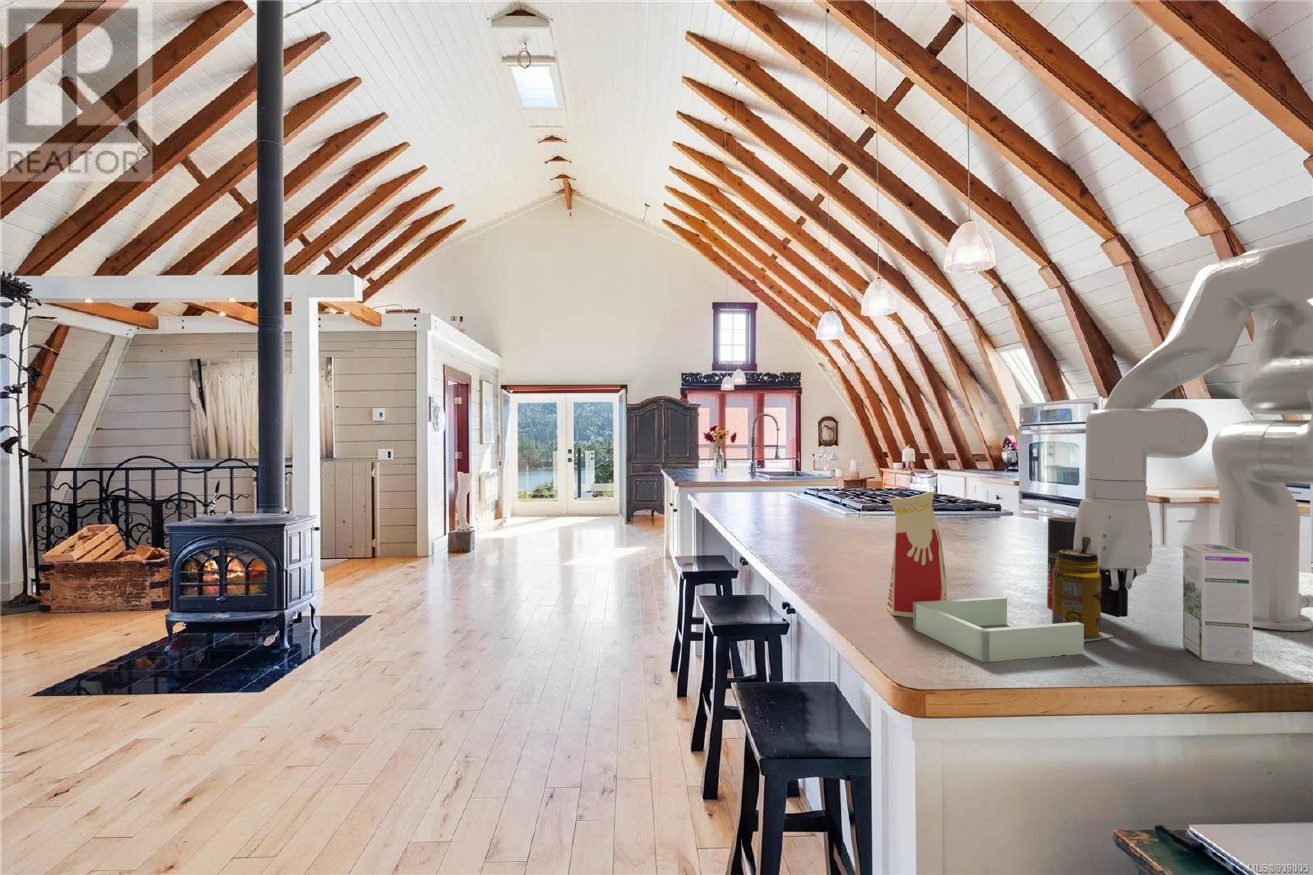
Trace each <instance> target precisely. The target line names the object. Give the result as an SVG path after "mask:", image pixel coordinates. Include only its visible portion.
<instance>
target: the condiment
mask: <svg viewBox="0 0 1313 875" xmlns="http://www.w3.org/2000/svg"><path fill="white" fill-rule="evenodd" d="M1056 556H1057V560H1056V563H1055V564H1056V567H1055V569H1054V570H1053V601H1052V602H1053V606H1052V607H1053V609H1052V612H1051V615H1052V617H1051V618H1052V619H1051V622H1052V623H1051V624H1058V623H1072V622H1079V623H1082V624H1084V643H1086V642H1091V641H1098V640H1099V641H1100V640H1103V639H1108V638H1113V637H1115V635H1112V634H1110V633H1105V632H1101V616H1102V615H1101V613H1102V612H1101V574H1100V573H1099V571H1098V568H1099V566H1098V564H1097V562H1098V561H1097V560H1098V558H1097V556H1096V555H1092V554H1088V553H1085V552H1084V551H1082V552H1077V551H1075V550H1059V551H1057V553H1056Z"/></svg>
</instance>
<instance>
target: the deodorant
mask: <svg viewBox="0 0 1313 875" xmlns="http://www.w3.org/2000/svg"><path fill="white" fill-rule="evenodd" d="M1076 519H1077V517H1076V518H1075V517H1049V518H1048V519H1047V582H1046V583H1047V586H1046V587H1047V589H1046V591H1047V597H1046V598H1047V600H1046V601H1047V602H1046V603H1047V605H1046V607H1047V608H1048V609H1049V610H1052V609H1053V607H1052V606H1053V602H1052V601H1053V570H1054V569H1055V567H1056V564H1055V563H1056V560H1057V556H1056V553H1057V551H1059V550H1073V549H1074V534H1075V525H1076Z"/></svg>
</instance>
